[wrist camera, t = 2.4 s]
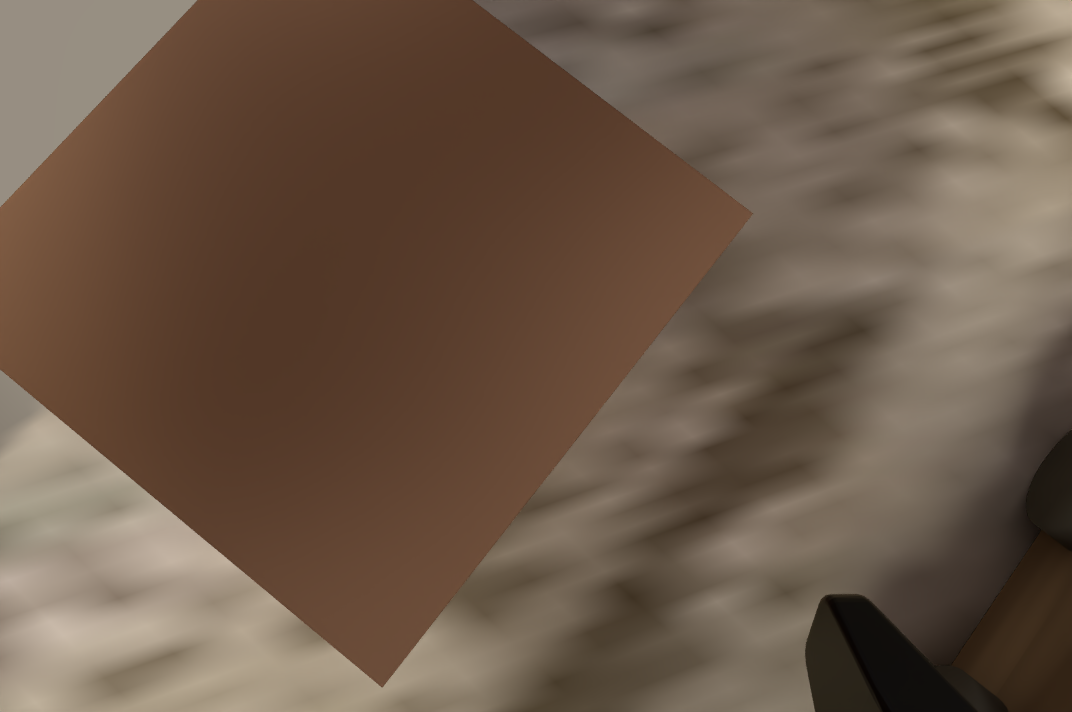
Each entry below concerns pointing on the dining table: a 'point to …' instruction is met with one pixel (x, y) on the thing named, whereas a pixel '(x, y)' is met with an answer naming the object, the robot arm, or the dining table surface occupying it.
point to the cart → (1029, 612)
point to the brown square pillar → (347, 290)
